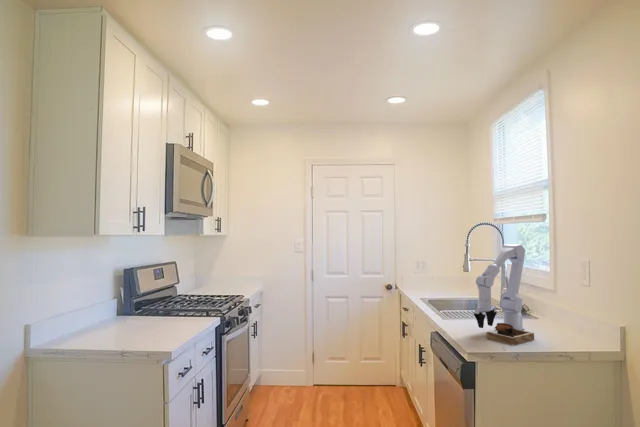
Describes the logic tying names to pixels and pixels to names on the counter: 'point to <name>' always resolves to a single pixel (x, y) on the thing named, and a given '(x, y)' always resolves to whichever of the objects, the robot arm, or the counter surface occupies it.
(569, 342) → the counter surface
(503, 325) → the pottery mug
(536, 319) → the counter surface
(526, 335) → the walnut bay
